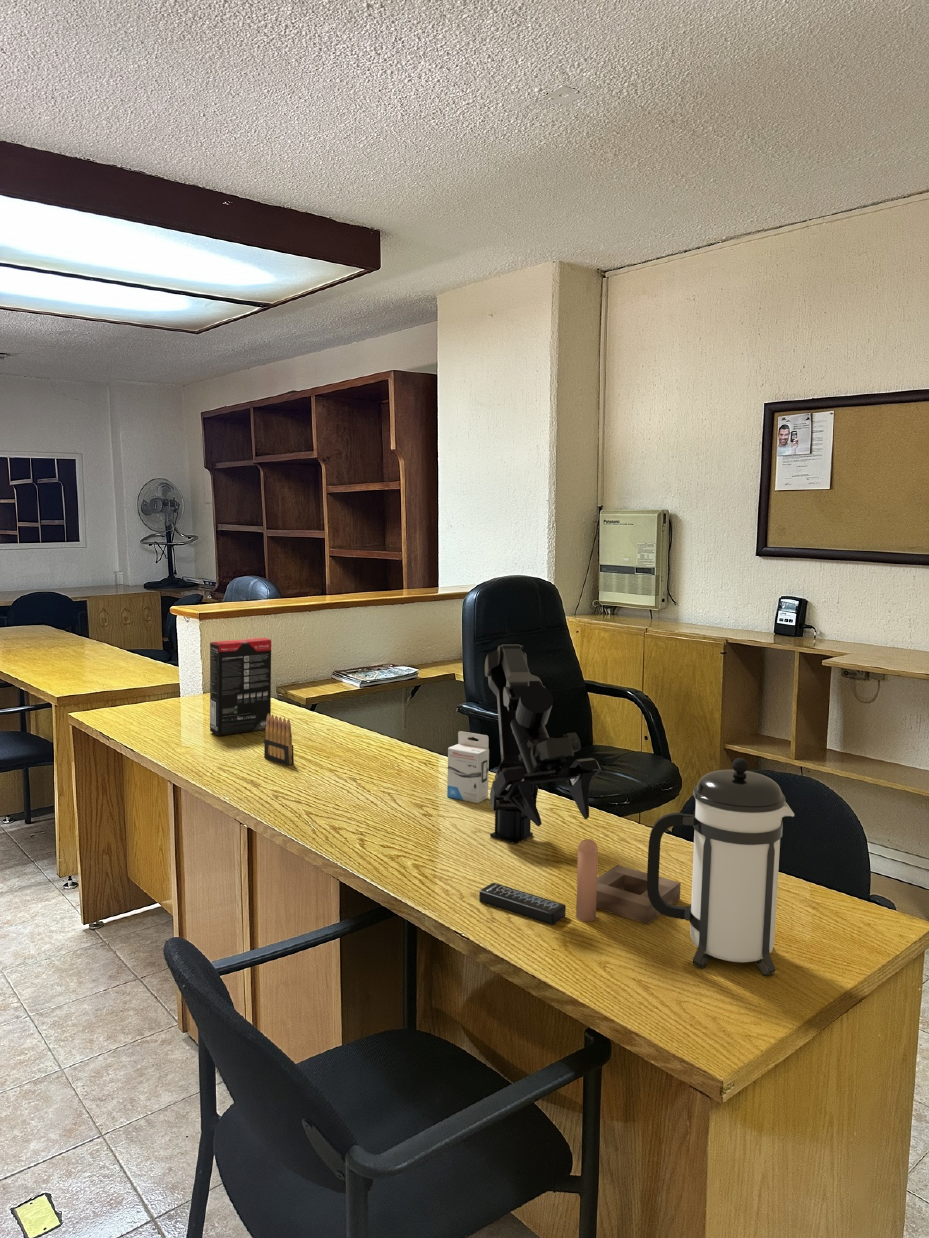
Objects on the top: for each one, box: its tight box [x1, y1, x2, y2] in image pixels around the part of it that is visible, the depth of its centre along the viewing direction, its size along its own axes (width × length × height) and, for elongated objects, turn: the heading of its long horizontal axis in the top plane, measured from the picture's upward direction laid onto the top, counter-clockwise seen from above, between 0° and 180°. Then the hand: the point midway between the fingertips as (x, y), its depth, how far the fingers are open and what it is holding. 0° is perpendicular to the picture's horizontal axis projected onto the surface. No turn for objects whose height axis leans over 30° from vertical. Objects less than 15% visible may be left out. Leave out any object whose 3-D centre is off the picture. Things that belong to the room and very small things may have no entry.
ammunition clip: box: [263, 713, 295, 767], centre depth 231 cm, size 11×2×12 cm, turn 47°
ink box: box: [446, 730, 490, 804], centre depth 203 cm, size 8×5×15 cm, turn 60°
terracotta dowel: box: [575, 838, 599, 923], centre depth 143 cm, size 3×3×13 cm
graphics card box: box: [209, 637, 272, 736], centre depth 261 cm, size 17×7×27 cm, turn 130°
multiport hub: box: [478, 882, 567, 926], centre depth 147 cm, size 4×14×2 cm, turn 54°
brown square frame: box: [596, 864, 682, 925], centre depth 150 cm, size 12×12×3 cm
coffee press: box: [646, 757, 795, 977], centre depth 130 cm, size 17×16×30 cm
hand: (563, 821), depth 149 cm, fingers open, 9 cm apart
